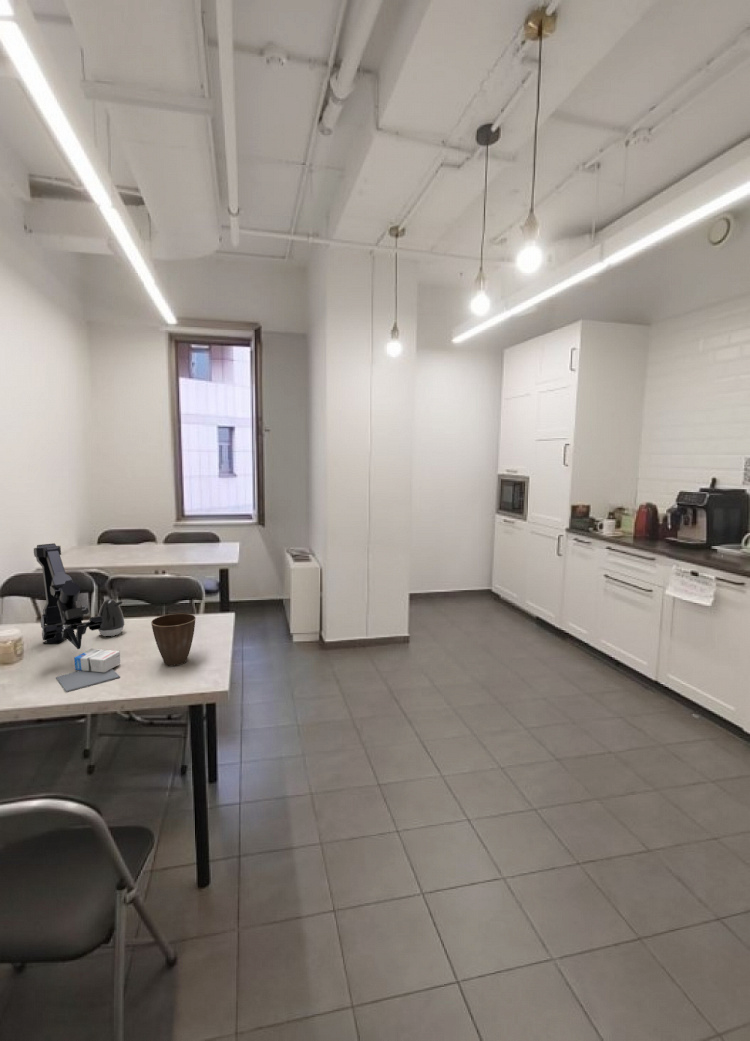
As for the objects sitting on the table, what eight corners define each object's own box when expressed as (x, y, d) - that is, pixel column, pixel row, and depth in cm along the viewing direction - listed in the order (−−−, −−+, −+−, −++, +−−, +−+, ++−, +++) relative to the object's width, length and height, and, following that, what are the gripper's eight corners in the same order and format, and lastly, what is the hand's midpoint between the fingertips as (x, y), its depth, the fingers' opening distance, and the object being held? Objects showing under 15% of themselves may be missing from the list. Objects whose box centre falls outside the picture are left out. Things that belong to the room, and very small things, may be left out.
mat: (55, 678, 173) (55, 676, 173) (107, 665, 184) (107, 663, 184) (66, 692, 163) (66, 690, 163) (120, 677, 173) (120, 676, 173)
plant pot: (143, 666, 183) (141, 623, 181) (173, 651, 197) (171, 611, 195) (177, 672, 178) (175, 628, 176) (205, 657, 192) (204, 615, 190)
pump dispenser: (117, 639, 210) (115, 602, 208) (92, 638, 210) (90, 602, 208) (130, 630, 220) (128, 596, 218) (105, 630, 220) (103, 595, 218)
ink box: (74, 670, 178) (104, 673, 175) (73, 656, 177) (103, 660, 175) (92, 660, 186) (121, 663, 184) (91, 647, 185) (120, 650, 183)
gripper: (41, 603, 175) (50, 643, 168) (100, 593, 187) (112, 630, 181) (38, 620, 182) (47, 659, 175) (96, 609, 194) (106, 645, 188)
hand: (79, 648), depth 179 cm, fingers closed
